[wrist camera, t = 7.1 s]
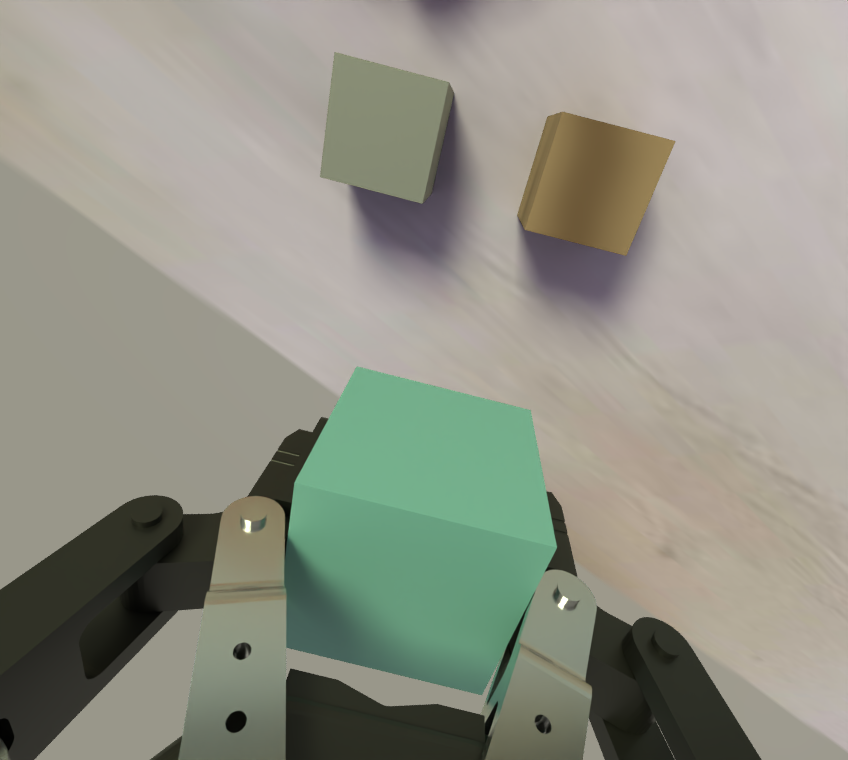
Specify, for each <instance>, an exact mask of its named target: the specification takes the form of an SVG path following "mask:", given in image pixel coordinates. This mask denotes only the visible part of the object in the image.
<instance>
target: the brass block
mask: <svg viewBox="0 0 848 760" xmlns="http://www.w3.org/2000/svg"><path fill="white" fill-rule="evenodd" d="M674 143H675V141H673V140H669V139H665V138H661V137H658V136H654V135H650V134H646V133H642V132H638V131H635V130H631V129H627V128H623V127H619V126H615V125H611V124H608V123H604V122H600V121H596V120H592V119H588V118H585V117H581V116H577V115H573V114H569V113H565V112H560V113H557V114H554V115H551V116H548V117H547V120H546V123H545V126H544V130H543V133H542V136H541V139H540V143H539V146H538V149H537V152H536V156H535V159H534V162H533V165H532V169H531V172H530V175H529V178H528V182H527V185H526V188H525V191H524V195H523V198H522V201H521V204H520V208H519V211H518V214H517V216H518V218H519V220H520V221H521V223H522V225H523V227H524V229H525V230H528V231H531V232H535V233H539V234H543V235H547V236H551V237H555V238H559V239H563V240H567V241H570V242H574V243H578V244H582V245H586V246H590V247H594V248H598V249H602V250H606V251H609V252H613V253H617V254H621V255H625V256H626V255H627V253H628V250H629V248H630V246H631V243H632V241H633V239H634V236H635V234H636V232H637V229H638V227H639V225H640V222H641V220H642V218H643V215H644V213H645V211H646V209H647V206H648V204H649V202H650V199H651V197H652V195H653V192H654V190H655V188H656V185H657V183H658V181H659V178H660V176H661V174H662V171H663V169H664V167H665V164H666V162H667V160H668V157H669V155H670V153H671V150H672V148H673V146H674Z"/></svg>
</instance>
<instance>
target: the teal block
mask: <svg viewBox="0 0 848 760" xmlns="http://www.w3.org/2000/svg"><path fill="white" fill-rule="evenodd" d="M556 549H557V545H556V540H555V535H554V529H553V524H552V519H551V514H550V509H549V503H548V498H547V493H546V488H545V483H544V478H543V472H542V467H541V462H540V457H539V452H538V447H537V441H536V436H535V431H534V426H533V421H532V415H531V410H528V409H524V408H520V407H516V406H512V405H508V404H504V403H500V402H496V401H492V400H488V399H484V398H480V397H476V396H472V395H468V394H464V393H460V392H456V391H452V390H448V389H444V388H440V387H436V386H432V385H428V384H424V383H420V382H416V381H412V380H408V379H404V378H400V377H396V376H392V375H389V374H385V373H381V372H377V371H373V370H369V369H365V368H361V367H356V369H355V371H354V373H353V375H352V376H351V378H350V380H349V382H348V384H347V386H346V388H345V389H344V391H343V393H342V395H341V397H340V399H339V401H338V402H337V404H336V406H335V408H334V410H333V412H332V414H331V415H330V417H329V419H328V421H327V423H326V425H325V427H324V429H323V430H322V432H321V434H320V436H319V438H318V440H317V442H316V443H315V445H314V447H313V449H312V451H311V453H310V455H309V456H308V458H307V460H306V462H305V464H304V466H303V468H302V470H301V471H300V473H299V475H298V477H297V479H296V481H295V483H294V490H293V498H292V507H291V515H290V523H289V531H288V539H287V547H286V555H285V563H284V586H286V648H290V649H294V650H298V651H303V652H307V653H311V654H315V655H319V656H323V657H327V658H331V659H335V660H340V661H344V662H348V663H352V664H356V665H360V666H365V667H368V668H372V669H377V670H381V671H385V672H389V673H393V674H397V675H401V676H405V677H409V678H414V679H418V680H422V681H426V682H430V683H434V684H438V685H442V686H446V687H450V688H455V689H459V690H463V691H467V692H471V693H475V694H479V695H482V694H483V692H484V689H485V688H486V686H487V684H488V682H489V680H490V678H491V676H492V674H493V672H494V670H495V668H496V666H497V664H498V662H499V660H500V658H501V657H502V655H503V653H504V651H505V649H506V647H507V645H508V643H509V641H510V639H511V637H512V635H513V633H514V631H515V629H516V627H517V625H518V623H519V621H520V619H521V617H522V615H523V613H524V611H525V610H526V608H527V606H528V604H529V602H530V600H531V598H532V596H533V594H534V592H535V590H536V588H537V586H538V584H539V582H540V580H541V578H542V576H543V574H544V572H545V570H546V568H547V566H548V564H549V563H550V561H551V559H552V557H553V555H554V553H555V551H556Z"/></svg>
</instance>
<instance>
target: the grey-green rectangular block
mask: <svg viewBox="0 0 848 760" xmlns="http://www.w3.org/2000/svg"><path fill="white" fill-rule="evenodd" d="M453 96H454V92H453V90H452V88H451V86H450V83H449V82H446V81H442V80H438V79H434V78H430V77H427V76H423V75H419V74H415V73H412V72H408V71H404V70H400V69H396V68H393V67H389V66H385V65H381V64H378V63H374V62H370V61H366V60H362V59H359V58H355V57H351V56H347V55H344V54H340V53H336V52H335V53H334V62H333V71H332V79H331V88H330V96H329V105H328V113H327V122H326V130H325V139H324V148H323V156H322V165H321V173H320V177H322V178H326V179H330V180H333V181H337V182H341V183H345V184H349V185H353V186H356V187H360V188H364V189H368V190H372V191H376V192H379V193H383V194H387V195H391V196H395V197H399V198H402V199H406V200H410V201H414V202H418V203H422V204H423V203H424V202H425V200H426V199H427V198H428V197H429V196H430V195H431V194H432V190H433V185H434V181H435V177H436V172H437V168H438V163H439V159H440V154H441V150H442V145H443V141H444V136H445V132H446V127H447V123H448V118H449V114H450V110H451V105H452V101H453Z"/></svg>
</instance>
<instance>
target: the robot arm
mask: <svg viewBox="0 0 848 760" xmlns="http://www.w3.org/2000/svg"><path fill="white" fill-rule="evenodd" d="M327 421H328V418H323V417H321V418H320V420H319V422H318V423H317V425H316V427H315V429H314V430H313V432H308V431H304V430H300V429H299V430H297V431H296V432H294V433H292V434H291V435H289V436H287V437H286V438H285V439H284V441H283V442H282V444H281V445H280V447H279V448H278V451H277V452H276V453H275V455H274V456H273V458H272V460H271V461H270V462H269V464H268V466H267V467H266V469H265V470H264V472H263V473H262V475H261V476H260V478H259V479H258V481H257V482H256V484H255V485H254V487H253V489H252V490H251V492H250V493H249V495H248V496H247V497H245V498H241V499H239V500H237V501H234V502H233V503H231V504H230V505H229V506H228V507H227V508H226V509H225V510H224V512H220V513H215V514H183V510H182V507H181V506H180V504H179V503H178V502H177V501H175V500H173V499H171V498H169V497H165V496H157V495H154V496H144V497H140V498H136V499H133V500H131V501H129V502H127V503H125V504H124V505H122V506H120V507H119V508H118V509H116V510H115V511H113V512H112V513H110V514H109V515H107V516H106V517H105V518H103V519H102V520H100V521H99V522H97V523H96V524H95V525H93V526H92V527H90V528H89V529H87V530H86V531H84V532H83V533H81V534H80V535H79V536H77V537H76V538H74V539H73V540H71V541H70V542H68V543H67V544H66V545H64V546H63V547H62V548H60V549H58V550H57V551H55V552H54V553H53V554H51V555H50V556H48V557H47V558H45V559H44V560H43V561H41V562H40V563H38V564H37V565H35V566H34V567H32V568H31V569H30V570H28V571H27V572H25V573H24V574H22V575H21V576H19V577H18V578H17V579H15V580H14V581H12V582H11V583H9V584H8V585H7V586H5V587H4V588H2V589H1V590H0V760H34V759H35V758H36V757H37V756H38V755H39V754H40V753H41V752H42V751H43V750H44V749H45V748H46V747H47V746H48V745H49V744H50V743H51V742H52V741H53V739H55V738H56V736H57V735H58V734H59V733H60V732H61V731H62V730H63V729H64V728H65V727H66V726H67V725H68V724H69V723H70V722H71V721H72V720H73V719H74V718H75V717H76V716H77V714H79V713H80V711H82V710H83V709H84V707H85V706H86V705H87V704H88V703H89V702H90V701H91V700H92V699H93V698H94V697H95V696H96V695H97V694H98V693H99V692H100V691H101V690H102V689H103V688H104V687H105V686H106V685H107V684H108V683H109V682H110V681H111V680H112V679H113V677H115V676H116V674H117V673H118V672H119V671H120V670H121V669H122V668H123V667H124V666H125V665H126V664H127V663H128V662H129V661H130V660H131V659H132V658H133V657H134V656H135V655H136V654H137V653H138V652H139V651H140V650H141V649H142V648H143V646H145V645H146V643H147V642H148V641H149V640H150V639H151V638H152V637H153V636H154V635H155V634H156V633H157V632H158V631H159V630H160V629H161V628H162V627H163V626H164V625H165V624H166V623H167V622H168V621H169V620H170V619H171V618H172V616H174V615H175V614H176V612H177V611H178V610H188V609H201V608H203V614H202V620H201V627H200V633H199V638H198V644H197V650H196V656H195V663H194V669H193V675H192V681H191V687H190V693H189V699H188V705H187V711H186V717H185V723H184V729H183V735H182V736H181V737H179V738H178V739H177V740H176V741H174V742H173V743H172V744H170V745H169V746H168V747H166V748H165V749H164V750H162V751H161V752H160V753H158V754H157V755H156V756H154V757H153V758H152V759H150V760H583V754H584V746H585V739H586V733H587V726H588V719H589V720H590V722H591V725H592V727H593V730H594V732H595V735H596V738H597V740H598V742H599V745H600V748H601V751H602V753H603V756H604V759H605V760H675V759H676V760H761V758H760V757H759V755H758V754H757V752H756V750H755V749H754V747H753V745H752V744H751V742H750V741H749V739H748V737H747V736H746V734H745V733H744V731H743V729H742V728H741V726H740V725H739V723H738V722H737V720H736V718H735V717H734V715H733V713H732V712H731V710H730V709H729V707H728V706H727V704H726V702H725V701H724V699H723V698H722V696H721V694H720V693H719V691H718V689H717V688H716V686H715V685H714V683H713V681H712V680H711V679H710V677H709V675H708V674H707V672H706V670H705V669H704V667H703V665H702V664H701V662H700V661H699V659H698V657H697V656H696V654H695V653H694V651H693V649H692V648H691V646H690V645H689V644H688V642H687V641H686V640H685V638H684V637H683V636H682V635H681V634H680V633H679V632H678V631H676V630H675V629H674V628H673V627H671V626H670V625H668V624H666V623H665V622H663V621H660V620H658V619H655V618H649V617H644V618H640V619H638V620H637V621H636V622H635V623H634V624H633V626H631V625H629V624H627V623H625V622H623V621H621V620H619V619H618V618H616V617H614V616H612V615H610V614H608V613H607V612H605V611H603V610H602V609H600V608H599V607H598V606H597V605H596V600H595V597H594V596H593V594H592V592H591V590H590V589H589V588H588V587H587V585H586V584H585V583H583V582H582V581H581V580H580V579H579V578H578V577H577V573H576V569H575V565H574V560H573V555H572V551H571V546H570V542H569V538H568V535H567V529H566V524H564V522H565V520H564V515H563V511H562V507H561V505H560V504H559V502H558V501H557V499H556V498H555V497H554V495H553V494H552V493H551V492H547V491H546V493H547V498H548V503H549V509H550V514H551V519H552V524H553V529H554V535H555V540H556V545H557V549H556V551H555V553H554V555H553V557H552V559H551V561H550V563H549V564H548V566H547V568H546V570H545V572H544V574H543V576H542V578H541V580H540V582H539V584H538V586H537V588H536V590H535V592H534V594H533V596H532V598H531V600H530V602H529V604H528V606H527V608H526V610H525V611H524V613H523V615H522V617H521V619H520V621H519V623H518V625H517V627H516V629H515V631H514V633H513V635H512V637H511V639H510V641H509V643H508V645H507V647H506V649H505V651H504V653H503V655H502V657H501V658H500V661H499V665H498V667H497V670H496V673H495V676H494V678H493V681H492V684H491V687H490V690H489V693H488V696H487V698H486V701H485V704H484V707H483V710H482V712H481V715H480V714H476V713H472V712H467V711H463V710H459V709H455V708H451V707H447V706H442V705H439V704H431V705H410V706H384V705H382V704H380V703H378V702H376V701H374V700H373V699H371V698H369V697H367V696H366V695H364V694H362V693H360V692H358V691H357V690H355V689H353V688H351V687H350V686H348V685H346V684H344V683H342V682H341V681H339V680H336V679H332V678H327V677H323V676H319V675H315V674H311V673H307V672H303V671H299V670H295V669H290V671H289V674H288V677H287V680H286V586H284V563H285V555H286V547H287V539H288V531H289V523H290V515H291V507H292V498H293V490H294V483H295V481H296V479H297V477H298V475H299V473H300V471H301V470H302V468H303V466H304V464H305V462H306V460H307V458H308V456H309V455H310V453H311V451H312V449H313V447H314V445H315V443H316V442H317V440H318V438H319V436H320V434H321V432H322V430H323V429H324V427H325V425H326V423H327ZM656 721H657V723H658V725H659V727H660V729H661V731H662V733H663V735H664V737H665V739H666V741H667V743H668V745H669V747H670V749H669V747H668V745H667V743H666V741H665V739H664V737H663V735H662V733H661V731H660V729H659V727H658V725H657V723H656ZM670 750H671V751H672V753H673V755H674V758H675V759H674V758H673V755H672V753H671V751H670Z"/></svg>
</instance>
